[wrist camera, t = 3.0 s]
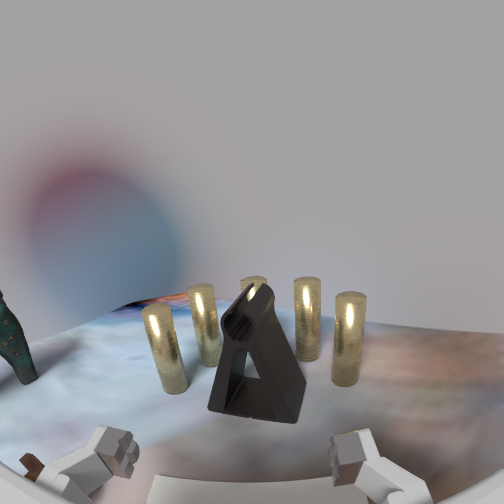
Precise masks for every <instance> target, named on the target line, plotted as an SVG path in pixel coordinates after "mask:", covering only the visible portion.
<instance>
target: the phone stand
mask: <svg viewBox="0 0 504 504" xmlns="http://www.w3.org/2000/svg"><path fill="white" fill-rule="evenodd" d="M253 286H254V283H251V284H249V285H248V286H247V287H246V288H245V290H244V291H243V292H242V293H241V294H240V295H239V297H238V298H237V299H236V300H235V301H234V303H233V304H232V305H231V306H230V307H229V308H228V310H227V311H226V312H225V313H224V314H223V316H222V318H221V322H220V324H221V329H222V332H223V336H224V344H223V349H222V352H221V356H220V360H219V364H218V368H217V372H216V376H215V380H214V383H213V387H212V391H211V395H210V399H209V403H208V407H207V408H208V410H210V411H213V412H218V413H223V414H228V415H234V416H239V417H245V418H249V417H251V418H252V419H258V420H265V421H273V422H282V423H291V424H295V423H296V422H297V418H298V414H299V410H300V406H301V402H302V398H303V394H304V389H305V385H306V381H305V379H304V377H303V374H302V372H301V370H300V368H299V366H298V363H297V361H296V359H295V357H294V354H293V352H292V350H291V348H290V346H289V343H288V341H287V339H286V337H285V334H284V332H283V330H282V328H281V325H280V323H279V321H278V319H277V316H276V314H275V310H274V300H275V296H274V292H273V290H272V289H271V288H270V287H269V286H268V285H267V284H265V283H262V284H261V286H260V287H259V289H258V290H257V291H256V293H255V294H254V295H253V297H252V298H251V299H250V301H248V298H247V294H248V293H249V291H250V290H251V289H252V288H253ZM248 352H249V353H250V355H251V358H252V360H253V362H254V365H255V367H256V370H257V372H258V374H259V377H260V379H258V378H250V377H244V376H243V372H244V368H245V363H246V358H247V353H248Z"/></svg>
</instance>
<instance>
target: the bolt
mask: <svg viewBox="0 0 504 504" xmlns="http://www.w3.org/2000/svg"><path fill="white" fill-rule="evenodd" d="M19 461H20V462H21V463H22V464H23V465H24V466H25V468H26V469H27V470H28V471H29V472H28V473H27V474H26V475H25V476H24V477H25V478H27V479H29V480H30V481H32V482H34V483H35V481H36V480H37V478H38V476H39V475H40V473H41V472H42V470H43V469H44V467H45V466H44V465H43V464H42V463H41V462H40V461H39V460H38V459H37V458H36V457H35V456H34V455H33V454H30V453H26V454H25V455H24V456H23V457H22V458H21V459H19Z"/></svg>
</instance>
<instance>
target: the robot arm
mask: <svg viewBox="0 0 504 504" xmlns="http://www.w3.org/2000/svg"><path fill="white" fill-rule="evenodd" d="M132 438H133V435H132V433H131V432H130V431H125V430H120V429H116V428H112V427H108V426H104V425H99V426H97V428H96V429H95V431H94V432H93V434H92V436H91V437H90V439H89V441H88V442H87V444H86V446H85V447H84V448H80V449H78V450H76V451H74V452H72V453H70V454H68V455H66V456H64V457H62V458H60V459H58V460H56V461H54V462H52V463H50V464H47V465H45V467H44V469H43V470H42V472H41V473H40V475H39V476H38V478H37V480H36V481H35V483H34V482H32V481H30V480H29V479H27V478H25V477H24V476H22V475H20V474H19V473H17V472H15V471H14V470H12V469H11V468H9V467H8V466H6V465H5V464H3V463H2V462H0V504H94V503H93V501H92V500H91V499H90V498H88V497H87V495H89V494H90V493H92V492H93V491H94V490H96V489H97V488H98V487H100V486H101V485H102V484H104V483H105V482H106V481H108V480H109V479H110V478H112V477H113V475H115V476H119V477H123V478H127V479H130V478H131V475H132V473H133V470H134V466H133V464H134V463H135V462H137V461H138V458H139V451H140V450H139V446H138V444H137V443H136V442H135V441H134V440H133V439H132ZM330 442H331V445H330V446H329V449H328V460H329V466H330V467H331V468H333V469H332V473H331V476H332V481H333V486H334V487H336V486H342V485H348V484H354V483H355V484H354V485H356V486H357V487H358V488H359V489H360V490H361V491H362V492H363V493H365V494H366V495H367V496H368V497H369V498H370V499H371V500H373V501H374V502H375V503H376V504H434V503H433V500H432V498H431V495H430V493H429V490H428V488H427V486H426V483H425V481H423V480H422V479H420V478H418V477H416V476H415V475H413V474H411V473H410V472H408V471H406V470H405V469H403V468H401V467H400V466H398V465H396V464H395V463H393V462H392V461H390V460H388V459H387V458H385V457H380V455H379V452H378V449H377V447H376V444H375V441H374V439H373V436H372V433H371V431H370V429H369V428H367V429H362V430H357V431H350V432H345V433H339V434H333V435H331V438H330ZM436 504H504V468H501V469H500V470H498V471H496V472H495V473H493V474H491V475H490V476H488V477H486V478H485V479H483V480H481V481H480V482H478V483H476V484H474V485H473V486H471V487H469V488H467V489H465V490H463V491H461V492H459V493H457V494H455V495H453V496H451V497H449V498H447V499H445V500H443V501H441V502H438V503H436Z"/></svg>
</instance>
